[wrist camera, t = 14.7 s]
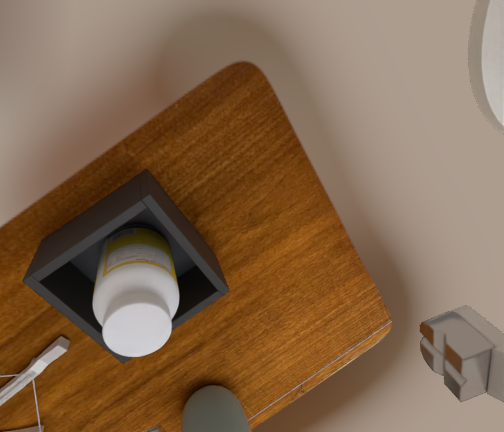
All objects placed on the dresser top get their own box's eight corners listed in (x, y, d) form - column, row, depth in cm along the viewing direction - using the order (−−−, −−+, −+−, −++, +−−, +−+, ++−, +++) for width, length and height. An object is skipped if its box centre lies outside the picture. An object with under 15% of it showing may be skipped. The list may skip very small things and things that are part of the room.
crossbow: (11, 446, 43) (5, 464, 42) (-104, 400, 37) (-117, 419, 36) (113, 366, 42) (111, 381, 40) (10, 304, 36) (2, 318, 34)
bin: (147, 168, 34) (149, 194, 28) (215, 254, 40) (230, 291, 34) (41, 240, 34) (21, 281, 28) (124, 316, 40) (123, 364, 34)
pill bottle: (132, 292, 38) (132, 382, 28) (85, 250, 35) (64, 334, 25) (184, 253, 38) (202, 329, 28) (140, 208, 35) (143, 275, 25)
